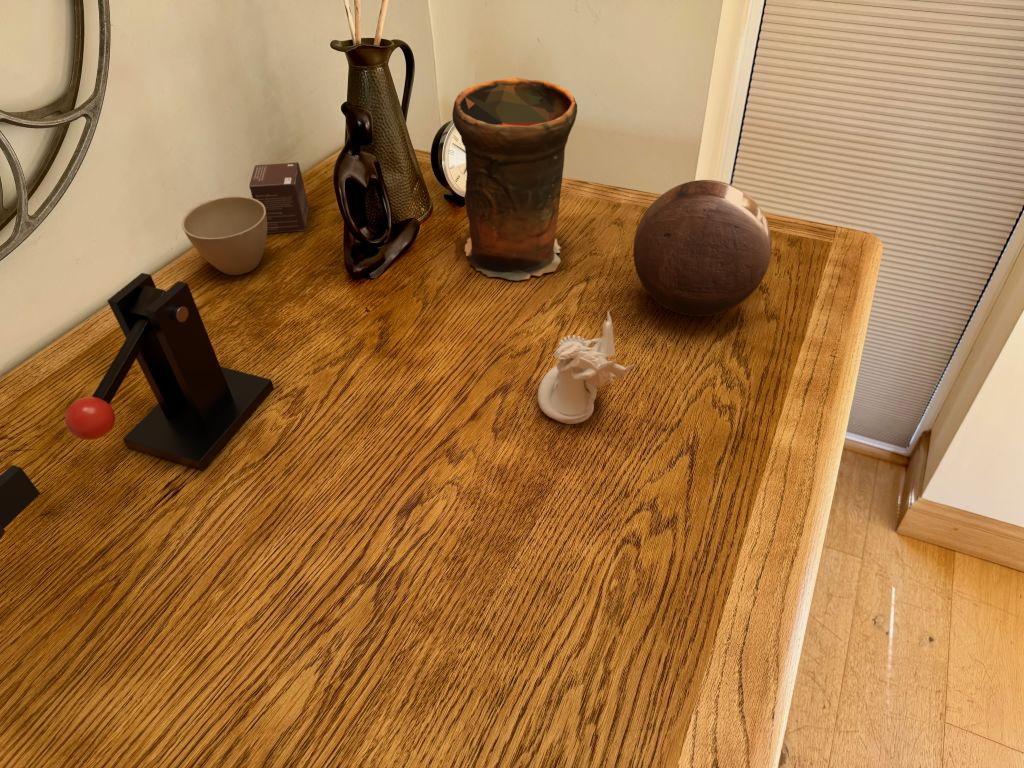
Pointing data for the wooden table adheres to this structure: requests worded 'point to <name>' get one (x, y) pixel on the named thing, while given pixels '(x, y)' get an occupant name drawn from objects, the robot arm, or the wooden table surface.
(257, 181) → the box
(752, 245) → the wooden sphere
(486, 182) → the vessel
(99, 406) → the switch
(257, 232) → the flower pot
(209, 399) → the lever base
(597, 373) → the figurine
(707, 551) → the wooden table surface
